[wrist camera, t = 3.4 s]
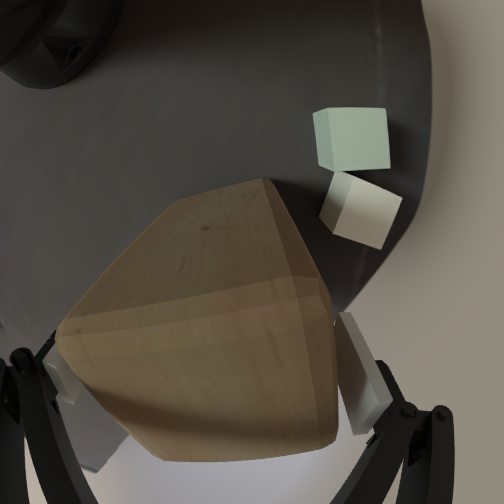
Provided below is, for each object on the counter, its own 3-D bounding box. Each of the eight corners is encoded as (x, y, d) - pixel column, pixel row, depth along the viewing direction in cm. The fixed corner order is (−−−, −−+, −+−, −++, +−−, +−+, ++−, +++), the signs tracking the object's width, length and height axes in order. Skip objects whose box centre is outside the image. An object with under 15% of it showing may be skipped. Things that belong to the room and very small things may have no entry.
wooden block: (271, 173, 25) (337, 285, 6) (291, 268, 29) (342, 450, 10) (169, 200, 26) (36, 336, 7) (200, 288, 29) (156, 465, 11)
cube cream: (335, 168, 25) (354, 176, 20) (378, 186, 25) (402, 198, 21) (318, 216, 26) (332, 233, 22) (360, 231, 27) (380, 249, 23)
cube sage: (312, 113, 22) (327, 108, 18) (361, 112, 22) (385, 108, 18) (318, 165, 24) (334, 171, 20) (366, 162, 24) (390, 168, 20)
